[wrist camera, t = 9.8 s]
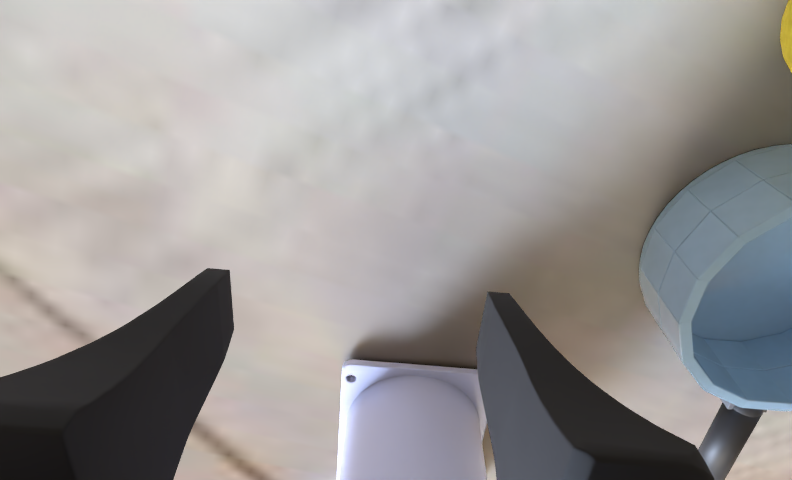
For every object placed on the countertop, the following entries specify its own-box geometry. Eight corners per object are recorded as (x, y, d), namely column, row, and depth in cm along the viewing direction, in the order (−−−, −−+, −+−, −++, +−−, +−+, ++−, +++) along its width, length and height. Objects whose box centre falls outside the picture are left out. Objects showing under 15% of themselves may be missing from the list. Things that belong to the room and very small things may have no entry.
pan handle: (721, 367, 25) (742, 397, 24) (759, 371, 25) (783, 400, 24) (671, 469, 29) (686, 501, 27) (705, 472, 29) (722, 503, 27)
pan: (815, 350, 28) (883, 419, 24) (611, 333, 27) (645, 400, 23) (932, 155, 22) (1042, 202, 19) (682, 132, 22) (740, 175, 18)
